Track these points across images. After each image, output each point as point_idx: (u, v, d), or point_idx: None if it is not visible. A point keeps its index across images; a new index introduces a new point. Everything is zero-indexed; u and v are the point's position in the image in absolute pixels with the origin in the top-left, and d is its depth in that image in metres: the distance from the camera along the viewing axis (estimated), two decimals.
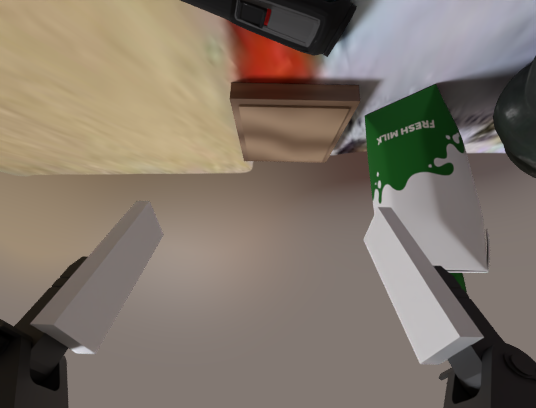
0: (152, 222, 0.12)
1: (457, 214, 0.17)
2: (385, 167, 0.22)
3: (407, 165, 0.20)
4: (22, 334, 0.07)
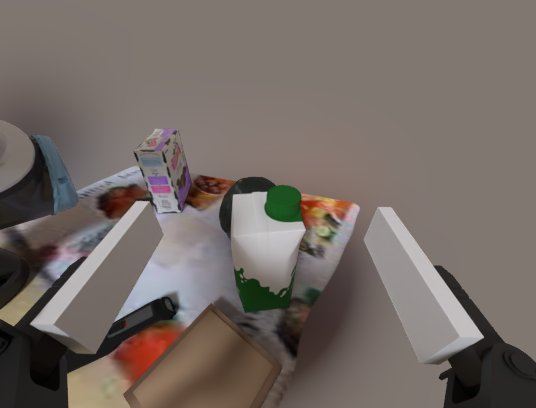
0: (152, 222, 0.12)
1: None
2: (235, 276, 0.29)
3: None
4: (22, 334, 0.07)
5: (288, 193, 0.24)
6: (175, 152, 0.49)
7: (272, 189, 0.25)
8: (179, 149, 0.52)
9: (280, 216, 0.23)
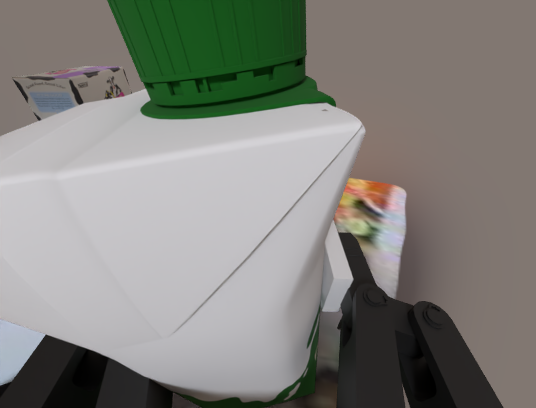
0: None
1: None
2: None
3: None
4: None
5: None
6: None
7: None
8: None
9: (192, 90, 0.04)
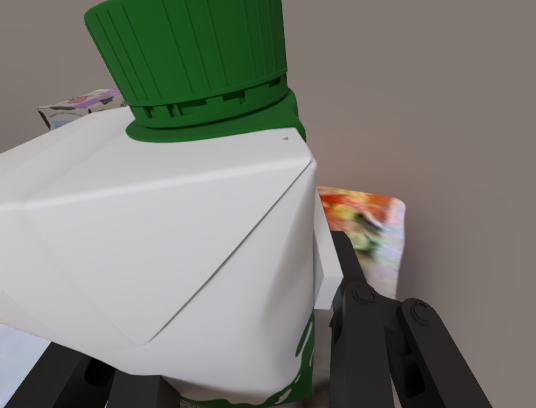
0: None
1: None
2: None
3: None
4: None
5: None
6: None
7: None
8: None
9: (166, 114, 0.04)
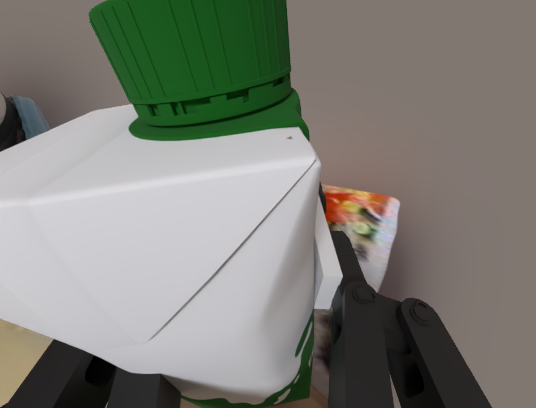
0: None
1: None
2: None
3: None
4: None
5: None
6: None
7: None
8: None
9: (169, 113, 0.04)
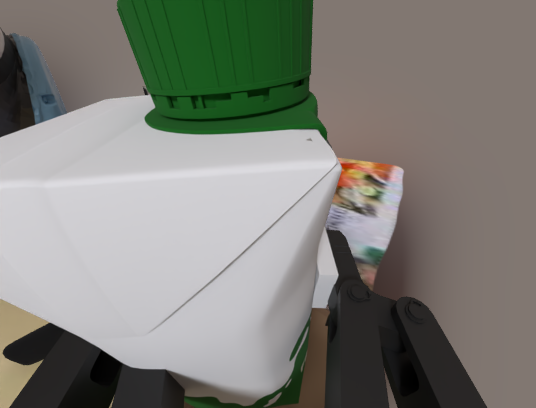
0: None
1: None
2: None
3: None
4: None
5: None
6: None
7: None
8: None
9: (188, 106, 0.04)
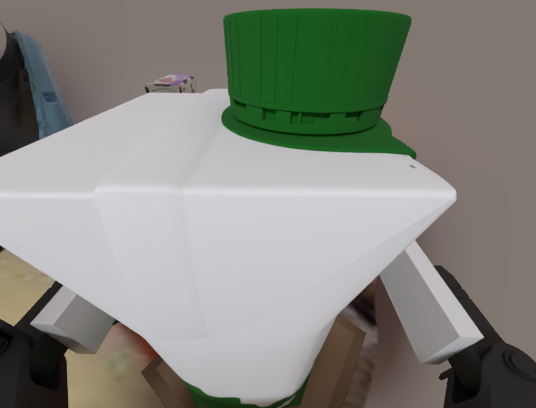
0: None
1: None
2: None
3: None
4: (22, 334, 0.07)
5: None
6: None
7: None
8: None
9: (285, 120, 0.04)
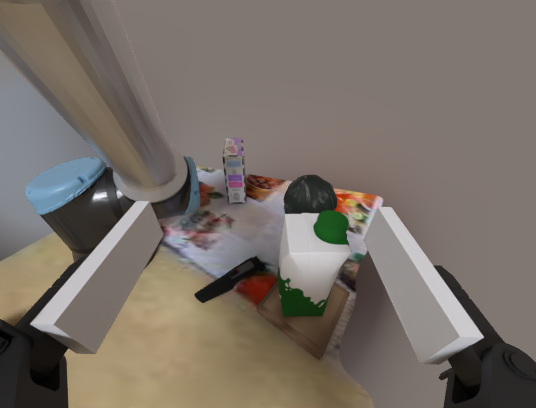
0: (152, 222, 0.12)
1: None
2: (280, 284, 0.33)
3: (278, 271, 0.34)
4: (22, 334, 0.07)
5: (336, 219, 0.28)
6: None
7: (322, 213, 0.28)
8: None
9: (329, 238, 0.27)
